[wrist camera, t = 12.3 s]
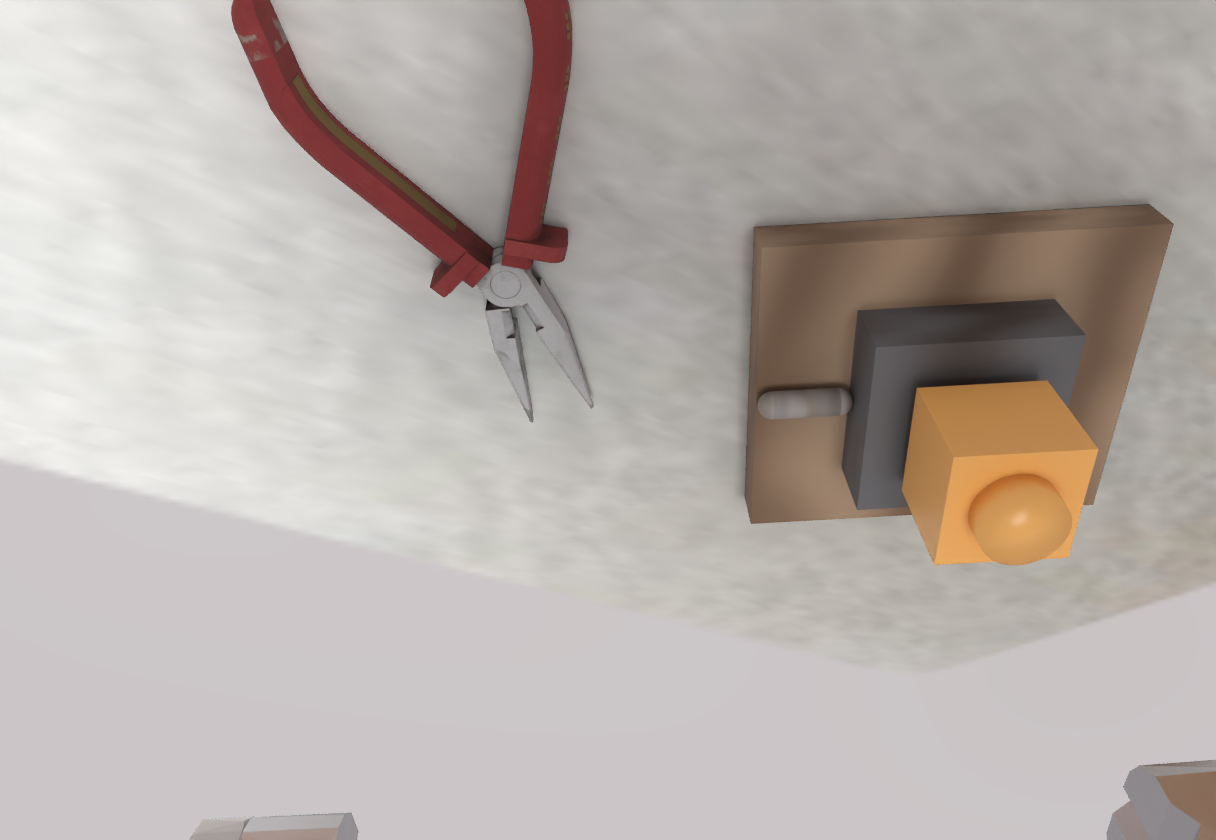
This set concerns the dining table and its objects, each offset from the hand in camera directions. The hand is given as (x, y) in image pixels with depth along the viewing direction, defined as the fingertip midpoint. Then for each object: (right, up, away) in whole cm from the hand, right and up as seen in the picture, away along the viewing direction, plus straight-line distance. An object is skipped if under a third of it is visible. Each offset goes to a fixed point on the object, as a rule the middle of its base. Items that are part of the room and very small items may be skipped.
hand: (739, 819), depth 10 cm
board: (+13, +7, +34) cm, 37 cm away
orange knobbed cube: (+13, +3, +29) cm, 32 cm away
